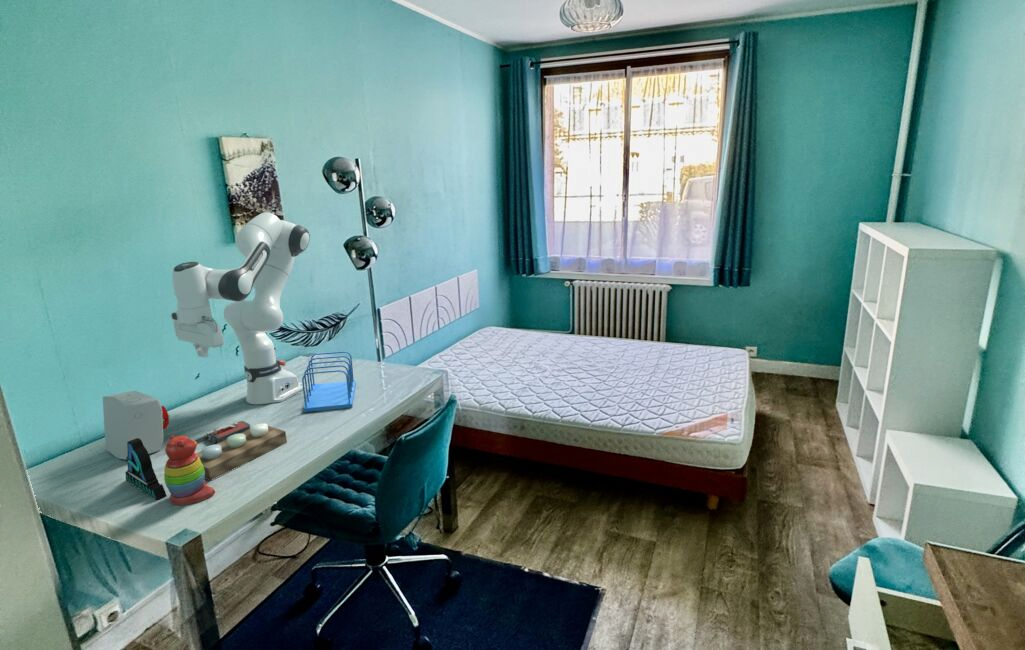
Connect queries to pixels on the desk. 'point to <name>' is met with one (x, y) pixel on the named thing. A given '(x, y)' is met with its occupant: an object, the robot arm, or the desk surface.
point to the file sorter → (329, 387)
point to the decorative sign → (142, 470)
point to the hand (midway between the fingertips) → (203, 356)
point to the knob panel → (242, 452)
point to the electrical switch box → (133, 422)
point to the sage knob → (236, 440)
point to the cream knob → (259, 430)
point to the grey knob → (211, 452)
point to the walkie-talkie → (225, 432)
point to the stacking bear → (185, 472)
